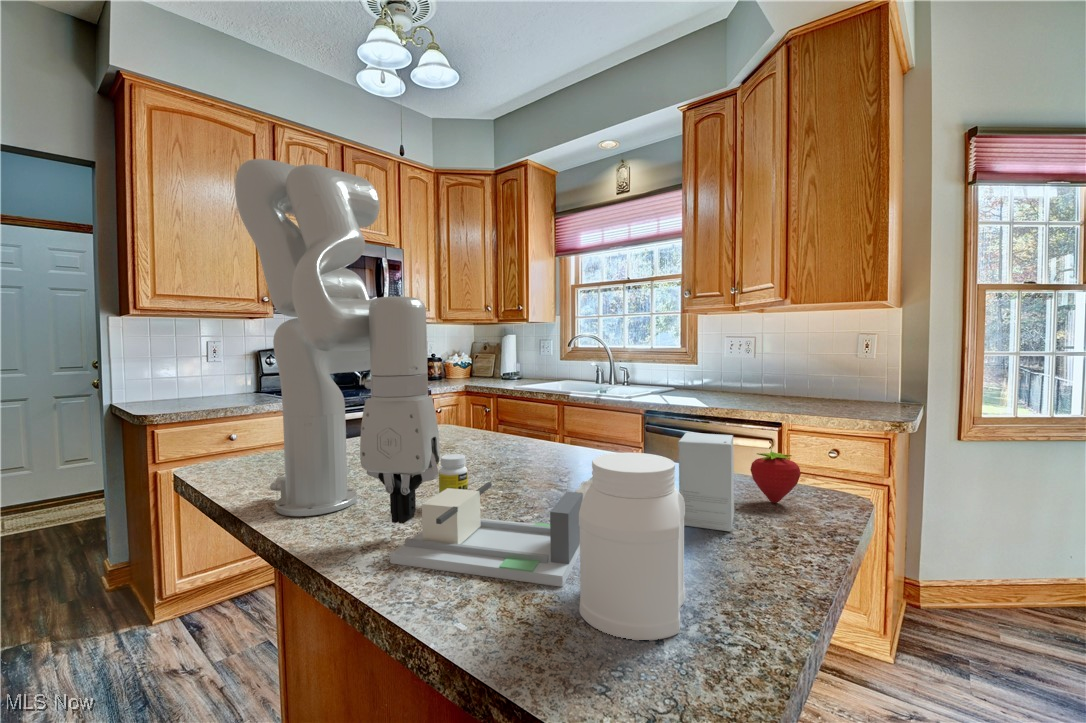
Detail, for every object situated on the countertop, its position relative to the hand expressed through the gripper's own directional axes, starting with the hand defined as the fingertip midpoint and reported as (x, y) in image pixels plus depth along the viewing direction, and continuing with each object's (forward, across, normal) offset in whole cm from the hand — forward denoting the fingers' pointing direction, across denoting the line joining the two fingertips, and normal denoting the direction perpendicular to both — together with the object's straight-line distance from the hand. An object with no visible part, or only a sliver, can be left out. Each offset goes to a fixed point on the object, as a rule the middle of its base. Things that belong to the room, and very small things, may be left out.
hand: (403, 519), depth 68 cm
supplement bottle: (+3, 0, +14) cm, 14 cm away
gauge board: (+3, +14, 0) cm, 14 cm away
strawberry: (+3, +52, +29) cm, 59 cm away
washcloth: (+4, +26, +22) cm, 34 cm away
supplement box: (+3, +40, +18) cm, 44 cm away
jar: (+3, +32, -9) cm, 34 cm away
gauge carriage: (+1, +7, 0) cm, 8 cm away
